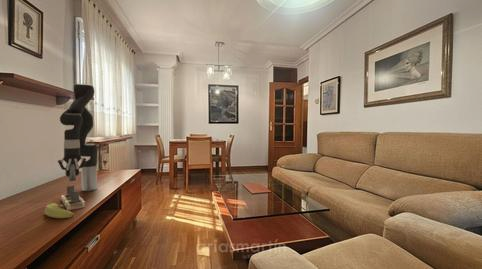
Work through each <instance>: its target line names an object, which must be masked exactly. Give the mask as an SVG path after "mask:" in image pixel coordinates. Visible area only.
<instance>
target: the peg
mask: <svg viewBox="0 0 482 269" xmlns="http://www.w3.org/2000/svg"><path fill="white" fill-rule="evenodd" d="M74 181H77V176H76V164H70V167H69V177H68V182H74Z"/></svg>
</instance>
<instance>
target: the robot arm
mask: <svg viewBox="0 0 482 269" xmlns="http://www.w3.org/2000/svg"><path fill="white" fill-rule="evenodd" d="M73 94H74V100H73V101H72V102H71V104H70V106H69V107H68V108H67V109H66V110H65V111H64V112H62V114H61V115H60V116H59V122H60V123H61V125H63V126H74V127H73V128H69V129H65V130H64V141H63V158H61V159H57V163H58V165H59V167H60V169H61V170H62V171H63V170H64V171H65V176H66V177H67V178H69V167H70V164H76V177H77V176H79V174H80V173H81V191H83V192H90V191H95V190H97V189H98V152H99V151H98V150H99V149H98V144H96V143H86V142H87V141H86V140H87V136H88V135H89V133H90V132H91V131H92V129H93V127H94V117H93V114H92V113H91V112H90V110H89V109H88V108H87V107H86V106H87V105H88V104H89V102H90V101H91V100H92V99H93V97H94V96H95V88H94V86H93V85H92V84H88V83H75V84H74V86H73ZM86 157H87V158H88V157H89V158H88V159H87V158H86ZM80 161H81V162H80ZM64 162H65V163H66V165H64V164H63V163H64ZM79 162H80V165H79ZM80 169H81V172H80Z"/></svg>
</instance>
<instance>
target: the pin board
mask: <svg viewBox="0 0 482 269" xmlns="http://www.w3.org/2000/svg"><path fill="white" fill-rule="evenodd" d="M61 202H62V203H63V204H62V205H63V206H64V207H65V210H68V211H73V210H78V209H82V208H85V207H86V201H85V200H84V199H83V198H82V196H80V191H79V190H78V189H77V190H75V185H74V184H71V185H67V186H66V194H63V195H61Z"/></svg>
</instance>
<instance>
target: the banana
mask: <svg viewBox="0 0 482 269" xmlns="http://www.w3.org/2000/svg"><path fill="white" fill-rule="evenodd" d="M44 214H45V215H46V216H47V217H51V218H53V219H69V218H70V219H71V218H73V217H74V216H75V213H74V212H72V211H71V210H67V209H64V204H61V205H58V204H57V203H55V202H54V203H53V202H52V203H49V204H47V205H46V206H45V210H44Z"/></svg>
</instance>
